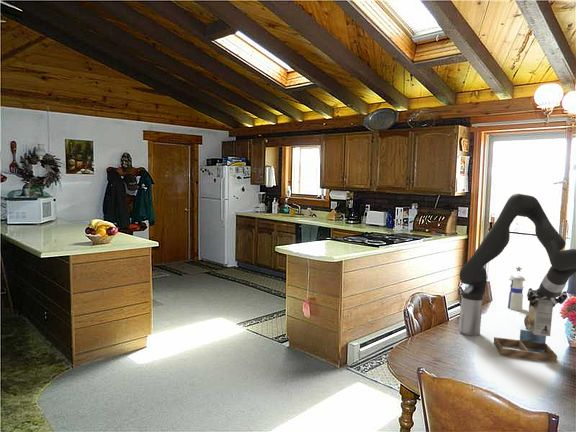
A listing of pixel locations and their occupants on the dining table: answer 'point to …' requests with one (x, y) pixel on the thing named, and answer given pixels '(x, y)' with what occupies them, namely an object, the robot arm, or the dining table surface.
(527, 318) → the vase
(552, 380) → the dining table surface
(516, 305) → the white blue toy tower
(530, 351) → the organiser
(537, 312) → the coffee box
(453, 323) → the dining table surface
